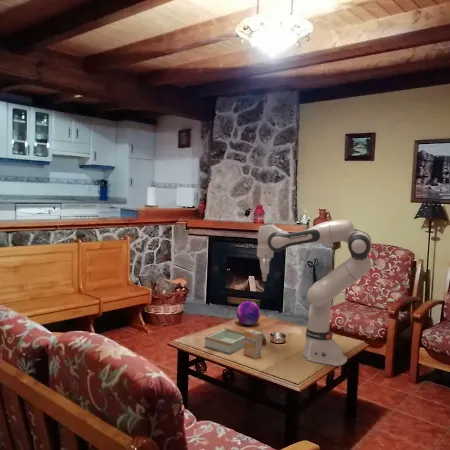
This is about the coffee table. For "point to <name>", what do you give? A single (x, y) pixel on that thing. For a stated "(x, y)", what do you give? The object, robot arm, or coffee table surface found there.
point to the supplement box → (253, 343)
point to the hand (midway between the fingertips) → (263, 279)
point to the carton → (262, 338)
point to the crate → (225, 341)
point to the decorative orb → (248, 313)
